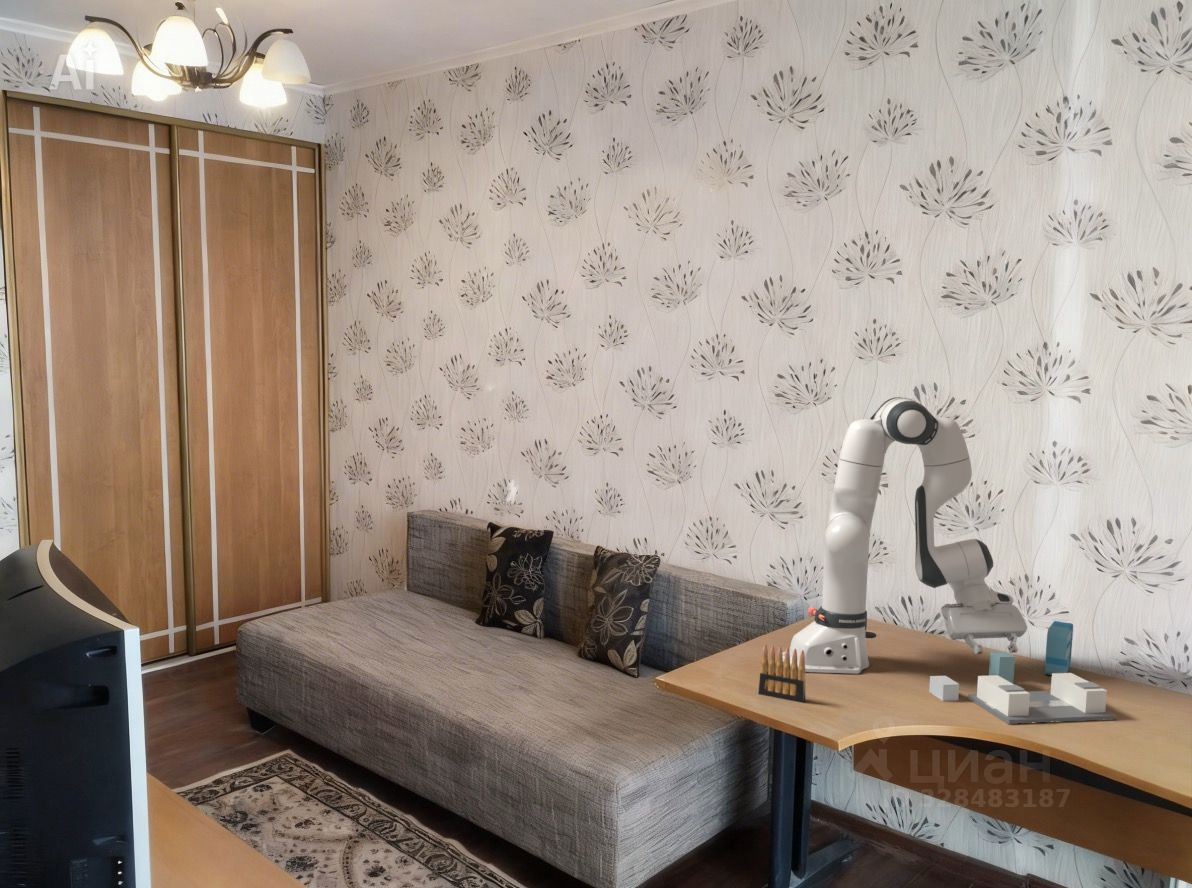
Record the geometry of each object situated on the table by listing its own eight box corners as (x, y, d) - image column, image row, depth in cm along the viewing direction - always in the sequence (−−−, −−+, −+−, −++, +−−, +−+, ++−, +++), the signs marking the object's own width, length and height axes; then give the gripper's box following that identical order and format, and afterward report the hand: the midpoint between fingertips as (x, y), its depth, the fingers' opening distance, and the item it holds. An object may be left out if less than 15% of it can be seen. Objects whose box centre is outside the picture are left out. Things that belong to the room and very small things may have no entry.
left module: (1007, 716, 204) (1009, 692, 203) (976, 696, 215) (978, 674, 215) (1028, 715, 205) (1030, 691, 204) (996, 696, 216) (997, 673, 216)
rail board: (1008, 724, 202) (1009, 719, 202) (967, 698, 217) (968, 693, 217) (1115, 719, 206) (1115, 714, 206) (1067, 694, 222) (1067, 689, 222)
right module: (1085, 713, 207) (1086, 689, 206) (1050, 694, 219) (1052, 671, 218) (1105, 712, 208) (1106, 688, 207) (1069, 693, 219) (1071, 671, 219)
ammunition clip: (805, 700, 213) (807, 649, 212) (803, 702, 212) (805, 651, 211) (760, 691, 218) (762, 642, 217) (758, 694, 217) (760, 644, 216)
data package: (1063, 679, 233) (1067, 632, 232) (1044, 675, 235) (1047, 629, 234) (1070, 667, 243) (1073, 622, 242) (1051, 663, 245) (1054, 619, 244)
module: (997, 689, 224) (999, 657, 223) (988, 683, 228) (990, 652, 227) (1012, 688, 225) (1015, 656, 224) (1003, 683, 229) (1005, 651, 228)
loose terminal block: (942, 701, 215) (943, 684, 215) (929, 692, 221) (930, 676, 221) (958, 700, 216) (959, 684, 216) (944, 691, 222) (945, 675, 221)
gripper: (943, 598, 233) (963, 647, 224) (1017, 595, 237) (1039, 644, 228) (933, 610, 238) (952, 659, 229) (1006, 608, 241) (1027, 656, 233)
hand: (996, 652), depth 229 cm, fingers open, 8 cm apart
